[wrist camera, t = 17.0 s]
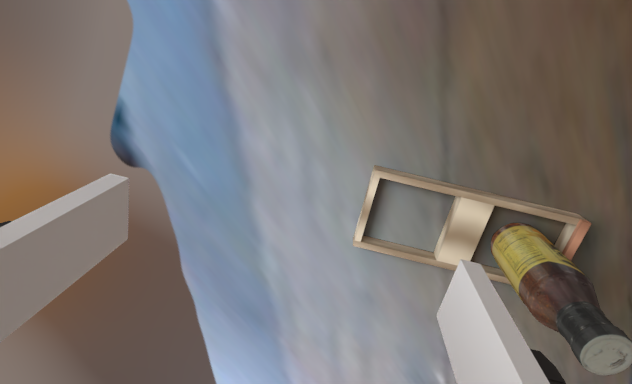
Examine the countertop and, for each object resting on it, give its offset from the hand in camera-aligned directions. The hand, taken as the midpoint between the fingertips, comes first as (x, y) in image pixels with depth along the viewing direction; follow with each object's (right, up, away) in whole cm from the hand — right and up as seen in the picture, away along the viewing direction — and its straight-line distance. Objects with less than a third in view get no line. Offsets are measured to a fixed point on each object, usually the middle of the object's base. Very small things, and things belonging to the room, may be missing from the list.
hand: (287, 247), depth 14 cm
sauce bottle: (+26, -4, +33) cm, 42 cm away
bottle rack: (+20, -2, +33) cm, 38 cm away
